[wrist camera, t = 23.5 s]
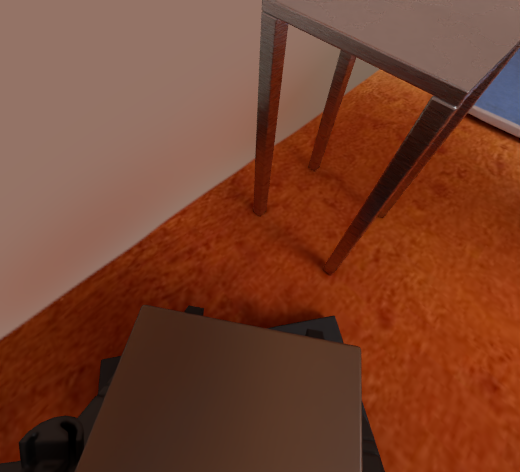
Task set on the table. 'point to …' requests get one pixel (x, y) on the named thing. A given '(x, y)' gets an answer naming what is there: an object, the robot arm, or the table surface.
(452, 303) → the table surface
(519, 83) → the tablet
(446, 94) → the square metal stool
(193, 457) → the block
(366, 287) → the table surface
